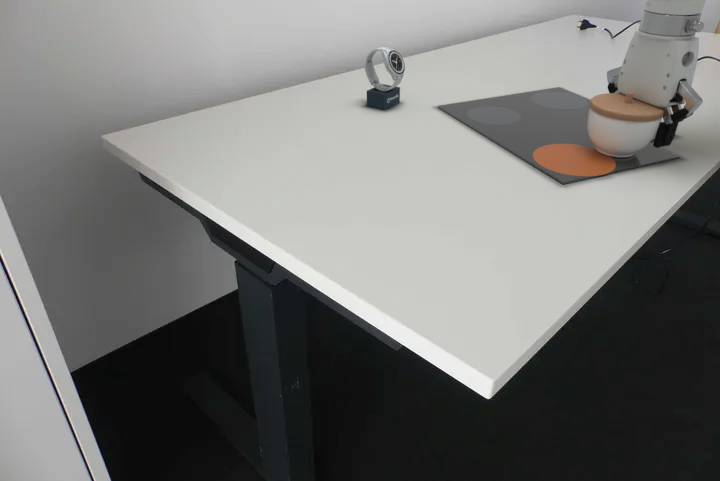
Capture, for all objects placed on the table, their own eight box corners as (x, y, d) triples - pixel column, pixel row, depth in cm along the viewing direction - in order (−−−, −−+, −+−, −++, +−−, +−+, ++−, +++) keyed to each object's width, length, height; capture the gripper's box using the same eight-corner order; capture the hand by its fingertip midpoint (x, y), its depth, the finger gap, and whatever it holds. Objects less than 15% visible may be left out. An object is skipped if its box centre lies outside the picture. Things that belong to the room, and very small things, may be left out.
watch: (393, 112, 105) (394, 54, 99) (359, 104, 109) (358, 48, 103) (408, 104, 109) (410, 47, 103) (375, 97, 113) (375, 42, 107)
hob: (559, 88, 117) (559, 87, 116) (711, 151, 88) (711, 149, 88) (437, 107, 107) (437, 105, 107) (563, 184, 78) (563, 182, 78)
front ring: (577, 139, 92) (577, 139, 92) (634, 167, 82) (634, 167, 82) (516, 151, 88) (516, 150, 88) (568, 182, 78) (568, 182, 78)
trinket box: (588, 133, 94) (601, 79, 89) (655, 146, 89) (673, 89, 84) (572, 154, 86) (585, 96, 81) (644, 169, 81) (663, 109, 76)
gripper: (741, 33, 73) (700, 150, 82) (641, 12, 87) (615, 115, 96) (701, 39, 71) (663, 159, 80) (604, 16, 84) (581, 121, 93)
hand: (637, 135), depth 88 cm, fingers open, 9 cm apart
